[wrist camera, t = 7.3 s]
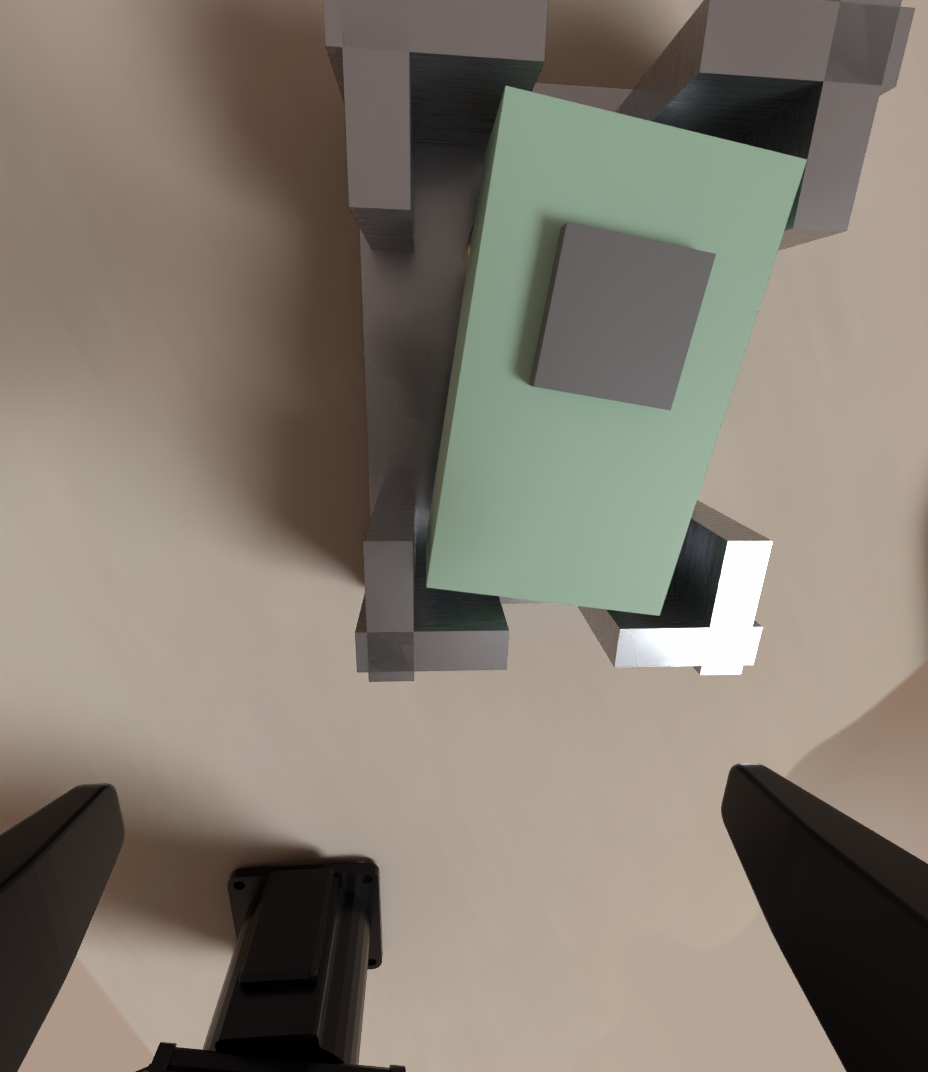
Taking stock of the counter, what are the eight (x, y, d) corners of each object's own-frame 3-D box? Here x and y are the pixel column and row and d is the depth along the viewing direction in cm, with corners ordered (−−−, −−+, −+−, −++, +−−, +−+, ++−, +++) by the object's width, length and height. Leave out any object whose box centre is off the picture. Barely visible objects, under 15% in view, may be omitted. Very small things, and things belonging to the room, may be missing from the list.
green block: (612, 563, 16) (668, 625, 13) (425, 538, 16) (426, 596, 12) (712, 207, 13) (825, 149, 10) (484, 155, 13) (510, 71, 9)
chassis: (665, 590, 20) (751, 673, 15) (375, 592, 19) (357, 682, 14) (747, 114, 15) (920, -13, 10) (358, 89, 14) (320, -65, 9)
